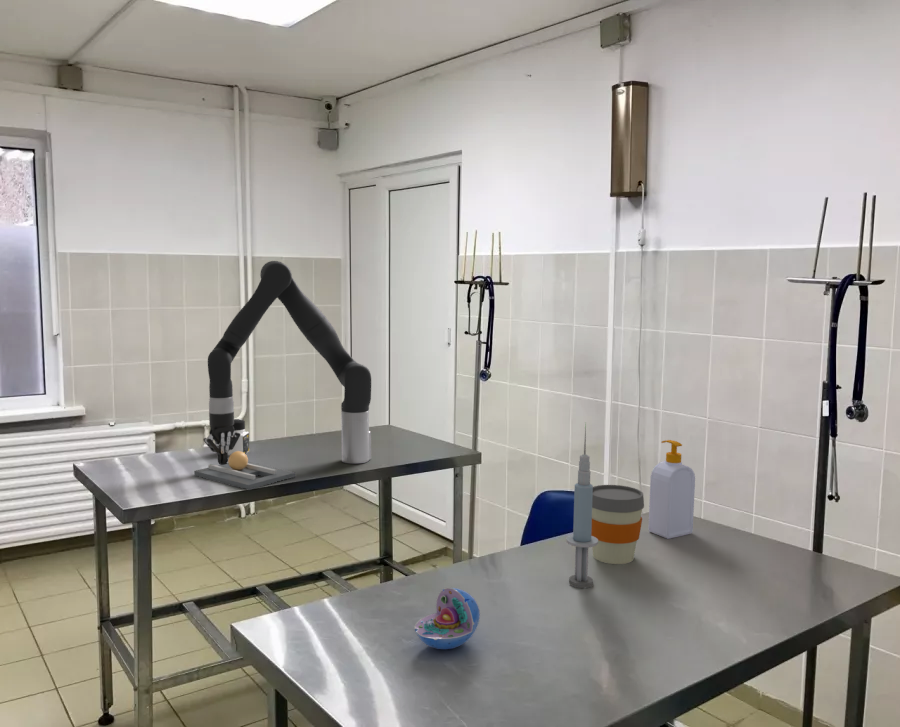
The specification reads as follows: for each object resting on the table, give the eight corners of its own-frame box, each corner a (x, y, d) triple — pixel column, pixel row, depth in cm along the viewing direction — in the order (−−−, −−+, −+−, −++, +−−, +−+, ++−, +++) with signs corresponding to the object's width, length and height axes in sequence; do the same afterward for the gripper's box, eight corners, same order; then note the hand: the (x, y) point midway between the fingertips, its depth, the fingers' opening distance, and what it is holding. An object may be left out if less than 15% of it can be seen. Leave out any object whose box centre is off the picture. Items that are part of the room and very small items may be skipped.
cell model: (401, 645, 130) (401, 591, 129) (455, 625, 137) (455, 574, 136) (438, 668, 122) (439, 611, 121) (493, 645, 130) (494, 592, 129)
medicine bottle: (243, 455, 263) (242, 421, 262) (223, 455, 264) (222, 421, 262) (249, 451, 270) (248, 417, 269) (229, 450, 271) (228, 417, 269)
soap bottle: (671, 525, 194) (675, 436, 191) (692, 533, 188) (697, 442, 185) (645, 531, 189) (649, 440, 187) (666, 539, 183) (670, 446, 181)
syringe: (597, 589, 154) (601, 419, 150) (565, 587, 155) (568, 418, 151) (596, 578, 159) (599, 415, 156) (565, 577, 160) (568, 414, 157)
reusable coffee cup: (575, 559, 170) (577, 493, 168) (598, 543, 180) (600, 481, 179) (629, 571, 163) (632, 503, 161) (650, 554, 173) (652, 490, 172)
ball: (240, 466, 242) (239, 448, 242) (252, 469, 239) (251, 451, 238) (224, 470, 238) (223, 451, 237) (236, 473, 234) (236, 454, 233)
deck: (241, 464, 252) (241, 456, 251) (295, 477, 236) (295, 468, 236) (194, 475, 237) (194, 467, 237) (248, 490, 222) (248, 480, 222)
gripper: (211, 415, 233) (212, 470, 235) (246, 409, 244) (247, 462, 246) (196, 412, 238) (198, 466, 240) (231, 406, 248) (232, 458, 250)
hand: (222, 464), depth 243 cm, fingers closed
